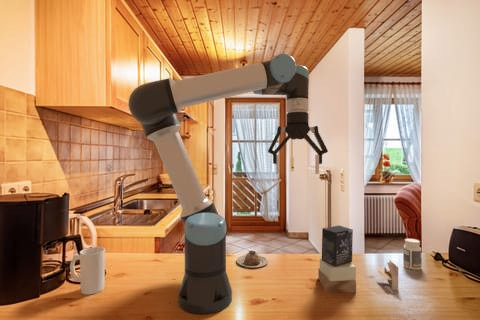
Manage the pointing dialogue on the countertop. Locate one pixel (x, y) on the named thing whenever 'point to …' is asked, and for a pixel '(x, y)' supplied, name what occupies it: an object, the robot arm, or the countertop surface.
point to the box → (337, 245)
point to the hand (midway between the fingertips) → (297, 173)
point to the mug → (90, 269)
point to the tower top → (338, 271)
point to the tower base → (336, 284)
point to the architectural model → (391, 275)
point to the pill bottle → (412, 254)
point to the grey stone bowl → (252, 260)
